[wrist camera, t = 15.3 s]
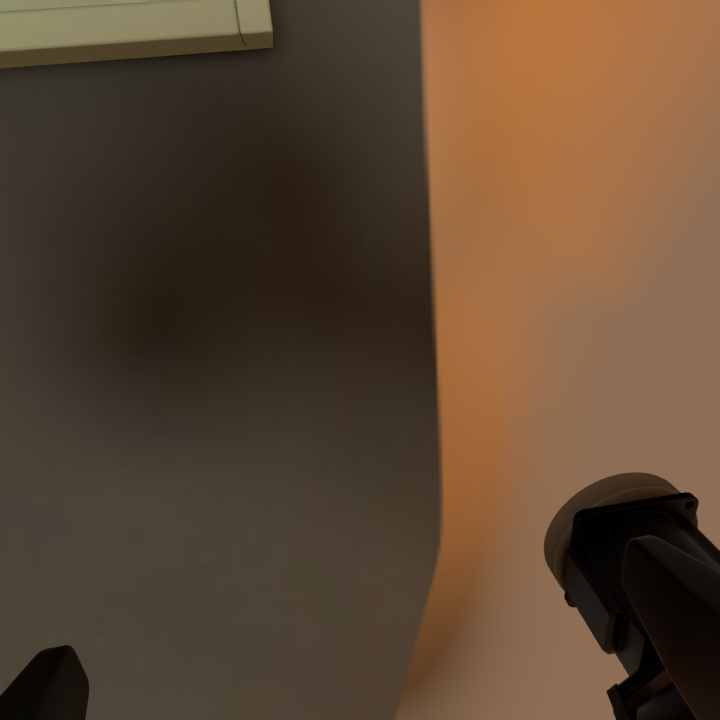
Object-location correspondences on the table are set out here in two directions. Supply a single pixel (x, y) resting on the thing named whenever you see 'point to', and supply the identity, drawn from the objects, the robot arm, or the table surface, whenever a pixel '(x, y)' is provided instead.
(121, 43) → the bin
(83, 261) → the table surface
